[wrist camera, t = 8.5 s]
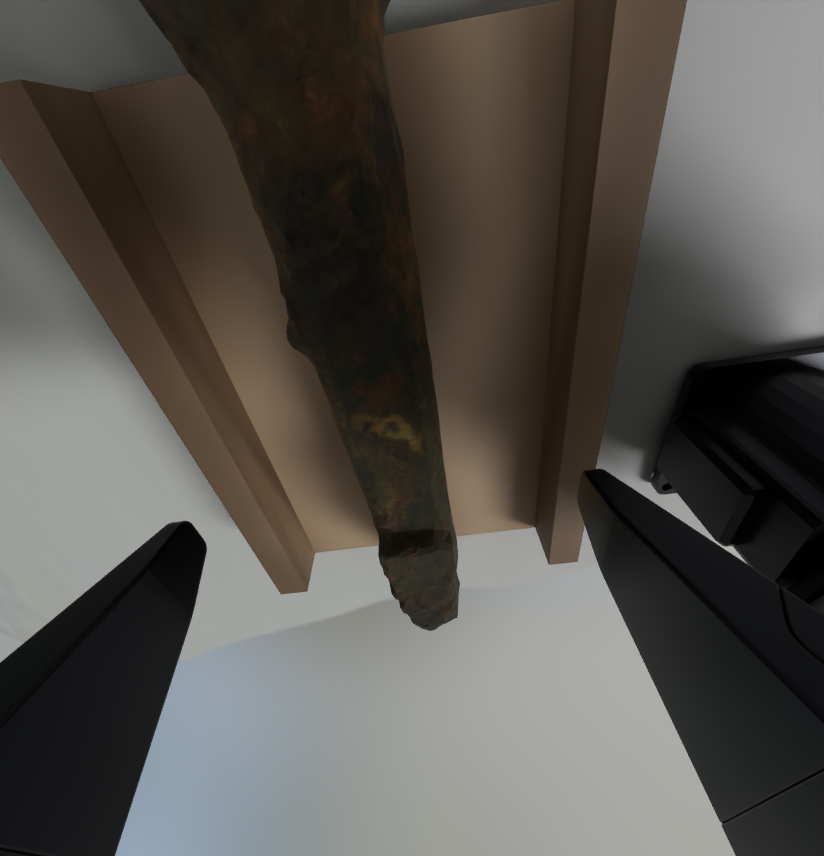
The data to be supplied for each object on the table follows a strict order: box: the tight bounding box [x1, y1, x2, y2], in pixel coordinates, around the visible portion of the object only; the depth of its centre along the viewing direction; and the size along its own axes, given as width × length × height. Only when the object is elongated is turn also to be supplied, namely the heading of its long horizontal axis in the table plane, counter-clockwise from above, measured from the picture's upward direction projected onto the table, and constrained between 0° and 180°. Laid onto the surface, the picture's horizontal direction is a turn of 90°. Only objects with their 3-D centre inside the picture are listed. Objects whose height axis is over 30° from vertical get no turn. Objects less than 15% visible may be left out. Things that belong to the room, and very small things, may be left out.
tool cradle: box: [0, 0, 687, 594], centre depth 13 cm, size 13×17×3 cm
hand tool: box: [140, 0, 460, 631], centre depth 11 cm, size 19×4×5 cm, turn 8°
